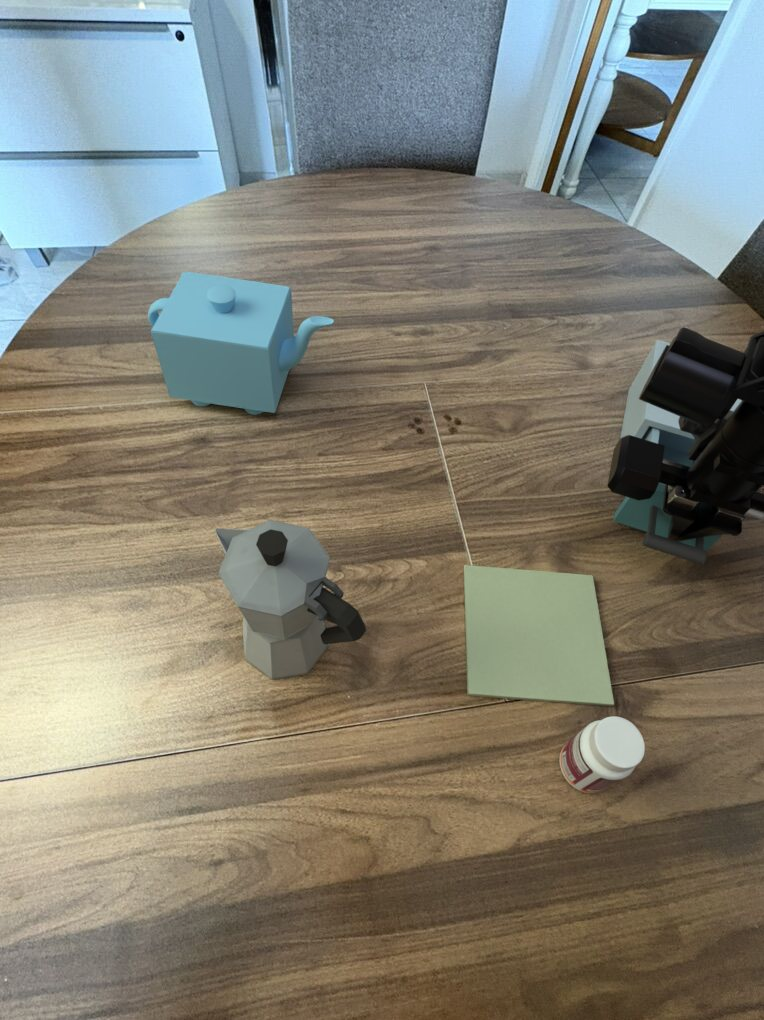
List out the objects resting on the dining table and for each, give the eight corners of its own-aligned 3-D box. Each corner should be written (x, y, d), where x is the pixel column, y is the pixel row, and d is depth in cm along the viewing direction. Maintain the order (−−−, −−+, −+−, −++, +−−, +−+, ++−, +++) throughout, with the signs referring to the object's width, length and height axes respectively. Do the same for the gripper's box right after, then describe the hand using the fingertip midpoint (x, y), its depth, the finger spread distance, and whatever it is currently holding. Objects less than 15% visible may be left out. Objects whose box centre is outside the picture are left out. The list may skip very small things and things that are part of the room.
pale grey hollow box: (711, 497, 74) (752, 450, 67) (614, 467, 76) (645, 418, 69) (715, 415, 83) (752, 365, 75) (628, 390, 84) (656, 339, 77)
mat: (591, 577, 67) (592, 575, 66) (612, 706, 59) (614, 704, 58) (463, 567, 66) (464, 564, 66) (467, 695, 58) (468, 693, 58)
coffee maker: (205, 636, 60) (165, 538, 45) (263, 572, 64) (245, 463, 49) (328, 726, 56) (329, 650, 41) (382, 650, 60) (400, 558, 45)
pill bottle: (617, 756, 56) (657, 731, 49) (600, 805, 54) (640, 785, 47) (568, 728, 57) (601, 699, 50) (550, 774, 55) (582, 751, 48)
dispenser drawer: (704, 590, 66) (740, 558, 60) (606, 558, 67) (632, 523, 62) (711, 464, 76) (742, 426, 71) (627, 438, 78) (650, 399, 72)
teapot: (150, 403, 76) (120, 311, 65) (179, 345, 83) (156, 252, 71) (324, 430, 76) (324, 342, 65) (340, 369, 82) (342, 279, 71)
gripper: (860, 409, 56) (760, 508, 68) (654, 351, 58) (595, 456, 71) (873, 502, 49) (761, 591, 62) (642, 432, 52) (580, 531, 65)
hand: (671, 537), depth 65 cm, fingers closed
